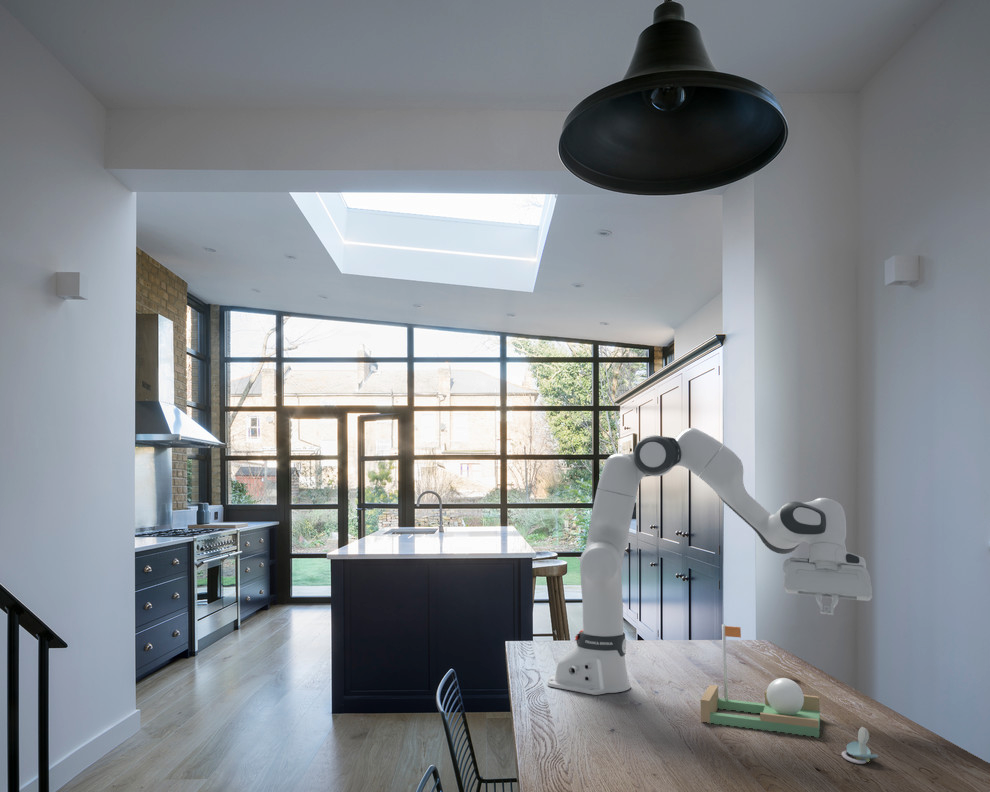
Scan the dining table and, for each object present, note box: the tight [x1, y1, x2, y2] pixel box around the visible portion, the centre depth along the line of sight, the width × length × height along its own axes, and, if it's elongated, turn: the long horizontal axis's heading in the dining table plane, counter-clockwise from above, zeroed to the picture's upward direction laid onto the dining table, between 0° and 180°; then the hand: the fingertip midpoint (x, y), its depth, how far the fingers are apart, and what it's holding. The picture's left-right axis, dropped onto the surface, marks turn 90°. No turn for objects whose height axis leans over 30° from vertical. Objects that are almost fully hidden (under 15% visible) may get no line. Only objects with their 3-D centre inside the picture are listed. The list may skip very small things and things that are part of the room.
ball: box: [766, 677, 805, 715], centre depth 169 cm, size 8×8×8 cm
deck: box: [700, 624, 821, 738], centre depth 172 cm, size 25×14×20 cm, turn 65°
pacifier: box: [841, 726, 879, 765], centre depth 147 cm, size 7×6×6 cm
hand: (826, 613), depth 180 cm, fingers closed
